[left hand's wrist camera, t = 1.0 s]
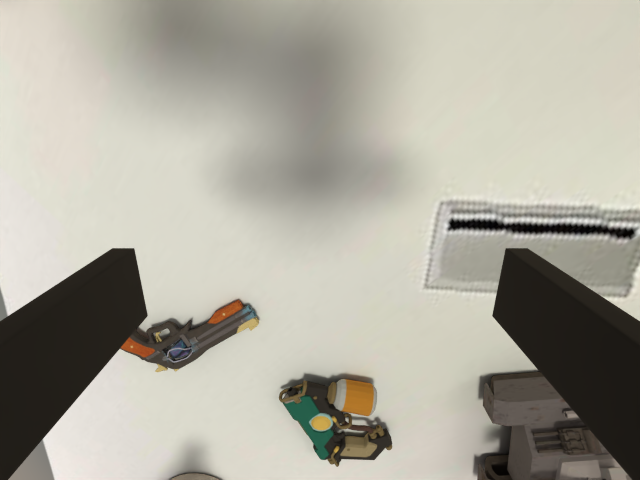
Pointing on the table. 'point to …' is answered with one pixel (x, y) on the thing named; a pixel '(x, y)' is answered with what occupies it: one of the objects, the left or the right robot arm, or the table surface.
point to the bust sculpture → (194, 477)
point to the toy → (542, 435)
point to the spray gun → (337, 418)
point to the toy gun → (190, 337)
